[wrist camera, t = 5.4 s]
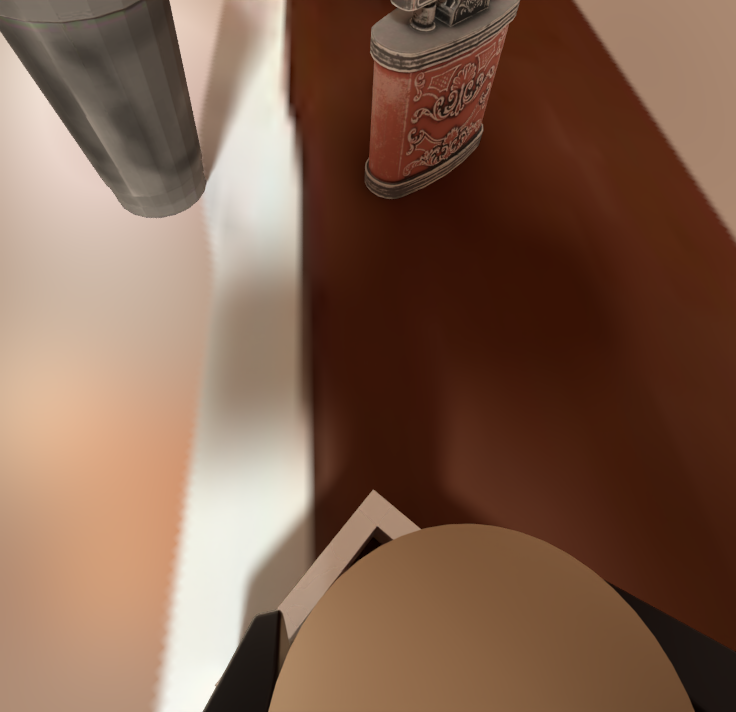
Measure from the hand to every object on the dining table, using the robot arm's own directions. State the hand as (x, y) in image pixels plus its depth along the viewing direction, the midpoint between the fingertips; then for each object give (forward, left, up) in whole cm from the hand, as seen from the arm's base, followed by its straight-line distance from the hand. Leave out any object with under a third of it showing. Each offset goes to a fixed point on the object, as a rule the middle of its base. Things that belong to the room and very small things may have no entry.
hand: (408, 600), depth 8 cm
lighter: (+19, +12, -10) cm, 25 cm away
